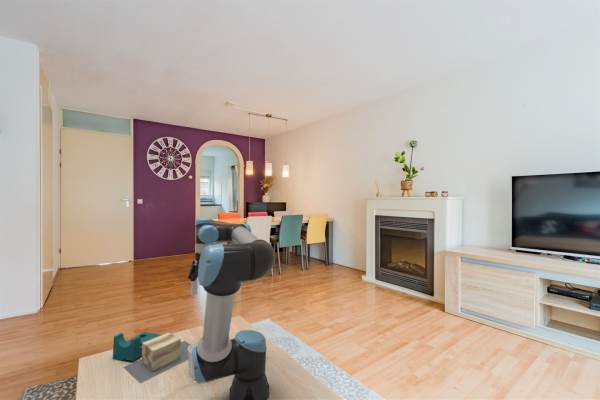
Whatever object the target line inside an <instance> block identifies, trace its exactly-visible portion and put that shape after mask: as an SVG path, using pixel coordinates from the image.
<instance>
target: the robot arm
mask: <svg viewBox="0 0 600 400" xmlns="http://www.w3.org/2000/svg"><path fill="white" fill-rule="evenodd" d="M194 226H195V242H194V244H195V246H194V251H195V252H194V260H192V262H191V263H192V264H191V267H190V270H189V274H188V275H187V279H188V280H190V288H191V289H190V293H191V294H190V295H191V296H195V295H197V294H198V284H199V286H201V287H202V288H203V290H204V291H205V292H206V300H205V301H206V302H205V310H204V312H205V313H204V322H203V323H204V324H203V332H202V337H201V338H200V339H199V340H198V341H199V343H198V346H196V347H194V348H193V349H192V357H193V366H194V375H195V378H194V379H195V381H194V382H195V383H197V384H203V383H210V382H212V381H216V380H219V379H223V378H227V377H231V376H234V377H233V379H232V382H231V386H230V387H229V391H228V395H229V396H228V399H229V400H267V399H269V397H270V390H271V389H270V384H269V381H268V377H267V374H266V367H267V366H266V362H267V361H266V360H267V359H266V356H267V339H266V337H265V335H264V334H262V332H259V331H256V330H252V329H244V330H240V331H238V332H237V333H236V334H235V336H234V338H232V339H231V338H230V337H229V336H230V329H231V323H232V316H233V311H234V310H233V308H234V301H235V295H236V294H237V293H238V292H239V291H240V289H241V286H242V283H243V282H249V281H250V282H251V281H256V280H259V279H261V278H264V277H266V275H268V274H269V273H270V272H271V271H272V269H273V268H274V264H275V262H276V252H275V249H274V247H273V246H272V244H270V243H269V242H268V241H266V240H265V239H259V238H258V237H257V236H256V235H254V234H253V232H252V228H251V226H250V224H248V223H230V224H227V223H224V224H221V223H220V224H214V220H213V219H212V218H210V217H209V218H208V217H200V218H196V219H195V225H194ZM219 242H220V243H219ZM223 242H233V243H226V244H222V243H223ZM213 243H217V244H213Z"/></svg>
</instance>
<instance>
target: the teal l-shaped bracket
mask: <svg viewBox="0 0 600 400" xmlns="http://www.w3.org/2000/svg"><path fill="white" fill-rule="evenodd" d="M161 335H162V334H160V333H153V332H148V331H143V332H141V333H140V334H137V335H136V336H134V337H133V338H130V339H129V340H126V339H125V337H124V333H122V332H120V333H118V334H116V335H114V336H113V348H112V360H115V361H120V362H123V361H125V360H127V361H131V362H132V361H134V362H135V360H137V359H139V358H140V357H142V343H143V342H146V341H148V340H151V339H153V338H156V337H158V336H161Z"/></svg>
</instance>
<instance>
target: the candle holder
mask: <svg viewBox="0 0 600 400" xmlns="http://www.w3.org/2000/svg"><path fill="white" fill-rule="evenodd" d="M199 341H200V340H197V341H194V342H192V343H190V344H191V345H189V347H188V360H187V361H188V375H189V376H190V377H191V378H194V379H193V380H192V381H194V382H196V381H195V375H194V366H193V357H192V349H193V348H194V347H196V346H198V343H199Z"/></svg>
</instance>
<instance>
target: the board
mask: <svg viewBox="0 0 600 400" xmlns="http://www.w3.org/2000/svg"><path fill="white" fill-rule="evenodd" d="M191 344H192V343H189V342H188V341H185V340H184V341H181V343H180V360H178V361H176V362H174V363H172V364H169V365H167V366H165V367H163V368H161V369H159V370H157V371H155V372H152V371H151V370H149V369H148V368H147V367H146V366H145V365H143V364H142V358H141V359H139V360H136V361H134V362H132V363H130V364H128V365H125V366H123V369H124V370H126V372H128V373H129V375H131V376H132V377H133V378H134V379H135V380H136V381H137V382H138V383H139V384H142V383H144V382H146V381H149V380H150V379H152V378H154V377H157V376H158V375H160V374H162V373H164V372H166V371H168V370H170V369H173V368H174V367H176V366H179V365H182V364H183V363H185V362H186V361H188V347H189V345H191Z"/></svg>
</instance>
